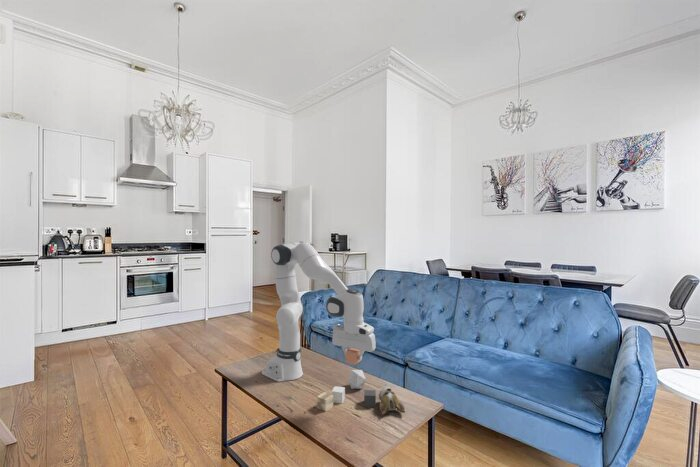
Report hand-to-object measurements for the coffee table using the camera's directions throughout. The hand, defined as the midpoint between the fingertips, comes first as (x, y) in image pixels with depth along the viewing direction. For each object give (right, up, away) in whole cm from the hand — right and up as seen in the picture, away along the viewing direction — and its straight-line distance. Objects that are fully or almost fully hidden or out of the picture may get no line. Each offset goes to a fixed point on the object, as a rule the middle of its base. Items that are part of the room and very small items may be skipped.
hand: (353, 357), depth 141 cm
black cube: (+7, -21, +2) cm, 23 cm away
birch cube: (-12, -21, -2) cm, 24 cm away
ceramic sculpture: (+16, -22, -2) cm, 27 cm away
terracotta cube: (0, -2, 0) cm, 2 cm away
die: (+2, -21, +17) cm, 27 cm away
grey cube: (-7, -21, +5) cm, 23 cm away
